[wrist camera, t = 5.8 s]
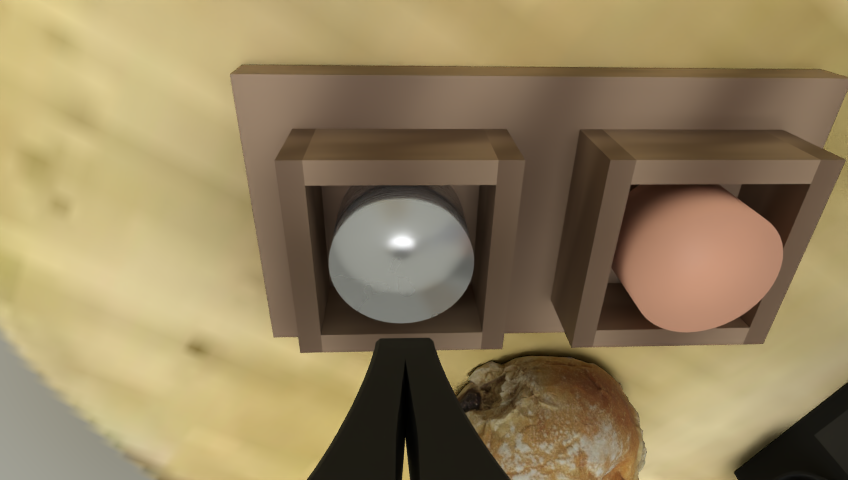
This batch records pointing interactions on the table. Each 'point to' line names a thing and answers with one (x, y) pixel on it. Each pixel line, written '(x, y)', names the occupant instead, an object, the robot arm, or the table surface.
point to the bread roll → (555, 420)
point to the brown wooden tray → (525, 184)
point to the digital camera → (807, 447)
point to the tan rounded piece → (694, 255)
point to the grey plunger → (401, 251)
